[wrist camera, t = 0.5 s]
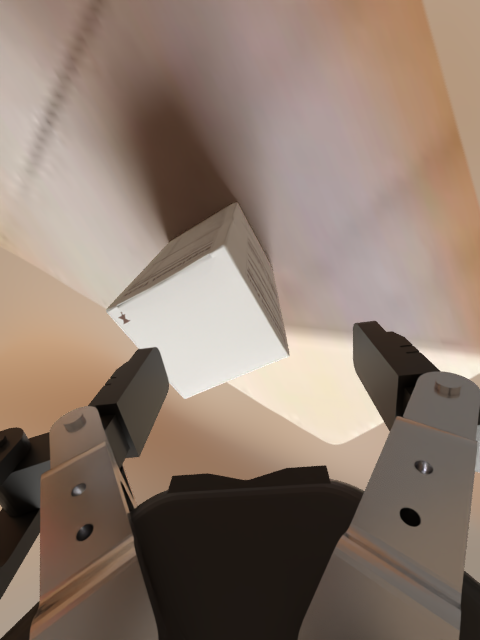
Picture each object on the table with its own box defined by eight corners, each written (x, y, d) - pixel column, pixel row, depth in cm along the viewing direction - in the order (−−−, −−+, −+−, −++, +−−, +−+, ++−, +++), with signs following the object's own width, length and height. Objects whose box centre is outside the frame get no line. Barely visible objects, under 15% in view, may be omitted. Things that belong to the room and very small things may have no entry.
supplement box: (209, 304, 36) (181, 404, 22) (166, 242, 33) (97, 313, 18) (276, 271, 34) (294, 359, 19) (238, 198, 30) (225, 241, 15)
